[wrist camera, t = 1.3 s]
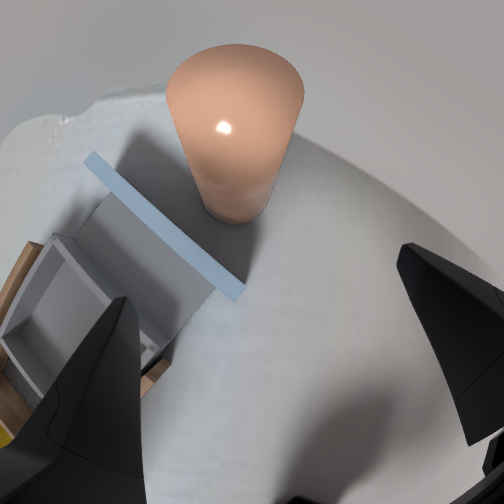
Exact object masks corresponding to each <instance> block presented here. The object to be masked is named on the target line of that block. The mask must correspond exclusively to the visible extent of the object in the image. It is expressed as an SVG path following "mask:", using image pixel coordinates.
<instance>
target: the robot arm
mask: <svg viewBox="0 0 504 504" xmlns="http://www.w3.org/2000/svg"><path fill="white" fill-rule="evenodd" d="M397 270H398V272H399V275H400V277H401V279H402V282H403V284H404V286H405V289H406V291H407V294H408V296H409V299H410V301H411V303H412V306H413V308H414V310H415V312H416V314H417V316H418V318H419V320H420V322H421V324H422V326H423V328H424V330H425V332H426V334H427V337H428V339H429V341H430V343H431V345H432V348H433V350H434V352H435V354H436V357H437V359H438V361H439V364H440V366H441V369H442V371H443V374H444V376H445V379H446V381H447V384H448V386H449V389H450V392H451V394H452V397H453V400H454V403H455V406H456V409H457V412H458V415H459V418H460V421H461V424H462V427H463V431H464V434H465V437H466V441H467V444H468V446H471V445H473V444H475V443H477V442H479V441H481V440H482V439H484V438H486V437H488V436H489V435H491V434H493V433H494V432H496V431H498V430H499V429H501V428H503V430H502V431H501V432H500V433H498V434H497V435H496V436H495V437H494V438H493V439H491V440H490V442H489V446H488V450H487V454H486V457H485V460H484V464H483V467H482V469H483V472H484V474H485V478H484V479H482V480H481V481H480V482H479V483H477V484H476V485H475V486H473V487H472V488H471V489H470V490H468V491H467V492H466V493H464V494H463V495H461V496H460V497H459V498H457V499H456V500H454V501H453V502H451V503H450V504H504V292H503V291H501V290H500V289H498V288H496V287H495V286H492V285H491V284H489V283H488V282H486V281H484V280H483V279H481V278H479V277H477V276H475V275H474V274H472V273H470V272H468V271H467V270H465V269H463V268H461V267H459V266H457V265H455V264H454V263H452V262H450V261H448V260H446V259H444V258H442V257H440V256H438V255H436V254H434V253H433V252H431V251H429V250H427V249H425V248H423V247H421V246H419V245H417V244H414V243H407V244H403V245H402V246H401V249H400V253H399V256H398V260H397ZM297 500H299V501H297ZM0 504H147V502H146V493H145V484H144V475H143V462H142V445H141V348H140V328H139V316H138V313H137V311H136V309H135V307H134V305H133V303H132V302H131V300H130V298H129V297H128V296H119V297H116V298H114V300H113V301H112V302H111V303H110V305H109V306H108V307H107V308H106V310H105V311H104V312H103V314H102V315H101V316H100V317H99V319H98V320H97V321H96V323H95V324H94V325H93V327H92V328H91V329H90V331H89V332H88V333H87V335H86V336H85V337H84V339H83V340H82V342H81V343H80V344H79V346H78V347H77V349H76V350H75V351H74V353H73V354H72V356H71V357H70V358H69V360H68V361H67V363H66V364H65V366H64V367H63V369H62V370H61V372H60V373H59V374H58V376H57V377H56V380H54V382H53V383H52V385H51V386H50V388H49V390H48V391H47V392H46V394H45V395H44V397H43V398H42V400H41V401H40V403H39V404H38V406H37V407H36V408H35V410H34V411H33V413H32V414H31V415H30V417H29V418H28V419H27V421H26V422H25V423H24V425H23V426H22V428H21V429H20V430H19V432H18V433H17V435H16V436H15V437H14V439H13V440H12V441H11V442H10V443H9V444H7V445H6V446H4V447H2V448H0ZM287 504H318V503H316V502H313V501H310V500H308V499H305V498H303V497H300V496H298V497H295V498H293V499H292V500H291V501H289V502H288V503H287Z"/></svg>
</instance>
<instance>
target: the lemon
mask: <svg viewBox="0 0 504 504" xmlns="http://www.w3.org/2000/svg"><path fill="white" fill-rule="evenodd" d="M11 441H12V438H11V437H10V436H9V435H8V433H7V432H6V431H5V430H4V428H3V427H2V426H1V425H0V448H2V447H4V446H6V445H7V444H9V443H10V442H11Z"/></svg>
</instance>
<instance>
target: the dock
mask: <svg viewBox="0 0 504 504" xmlns="http://www.w3.org/2000/svg"><path fill="white" fill-rule="evenodd" d="M44 246H45V245H41V244H38V243H34V242H31V241H28V243H27V244H26V246H25V248H24V249H23V251H22V253H21V254H20V256H19V258H18V260H17V262H16V263H15V265H14V267H13V269H12V271H11V273H10V275H9V276H8V278H7V280H6V282H5V284H4V286H3V288H2V291H1V293H0V327H1V325H2V323H3V321H4V319H5V316H6V314H7V312H8V310H9V308H10V306H11V304H12V302H13V300H14V298H15V296H16V294H17V292H18V290H19V288H20V287H21V285H22V283H23V281H24V279H25V277H26V276H27V274H28V272H29V271H30V269H31V267H32V265H33V264H34V262H35V260H36V259H37V257H38V256H39V254H40V252H41V251H42V249H43V248H44ZM8 358H9V355H8V354H7V352H6V351H5V349H4V348H3V346H2V345H1V343H0V425H1V426H2V427H3V428H4V430H5V431H6V432H7V433H8V435H9V436H10V437H11V438H12V440H13V439H14V437H15V436H16V435H17V433H18V432H19V430H20V429H21V428H22V426H23V425H24V423H25V422H26V421H27V419H28V418H29V417H30V415H31V414H32V413H33V411H32V410H31V409H30V408H29V407H28V405H27V404H26V403H25V402H24V400H23V399H22V398H21V397H20V395H19V394H18V393H17V391H16V390H15V389H14V387H13V386H12V385H11V383H10V382H9V380H8V379H7V378H6V376H5V375H4V373H3V370H4V368H5V365H6V363H7V360H8ZM170 365H171V363H169V362H168V361H167V360H166V359H165V358H163V359H161V360H160V361H159V362H158V363H157V364H156V365H155V366H154V367H153V368H152V369H150V370H149V371H148V372H147V373H146V374H145V375H144V376H143V377H142V378H141V398H142V397H143V396H144V395H145V394H146V393H147V391H148V390H149V389H150V388H151V387H152V386H153V385H154V383H155V382H156V381H157V380H158V379H159V378H160V377H161V375H162V374H163V373H164V372H165V371H166V370H167V369H168V367H169V366H170Z"/></svg>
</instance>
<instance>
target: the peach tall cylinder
mask: <svg viewBox="0 0 504 504" xmlns="http://www.w3.org/2000/svg"><path fill="white" fill-rule="evenodd" d="M166 100H167V105H168V108H169V111H170V113H171V116H172V119H173V122H174V125H175V128H176V130H177V133H178V136H179V139H180V142H181V144H182V147H183V150H184V153H185V155H186V158H187V161H188V163H189V166H190V169H191V172H192V174H193V177H194V180H195V182H196V185H197V188H198V190H199V193H200V196H201V198H202V201H203V203H204V206H205V208H206V209H207V211H208V212H209V213H210V214H211V215H212V216H213V217H214V218H215V219H217V220H219V221H220V222H223V223H226V224H232V225H239V224H244V223H248V222H250V221H252V220H254V219H255V218H257V217H258V216H259V215H260V214H261V213H262V212H263V211H264V209H265V208H266V206H267V203H268V200H269V198H270V195H271V192H272V189H273V186H274V183H275V181H276V178H277V175H278V172H279V169H280V166H281V164H282V161H283V158H284V155H285V152H286V149H287V147H288V144H289V141H290V138H291V135H292V132H293V129H294V127H295V124H296V121H297V118H298V115H299V112H300V109H301V107H302V104H303V100H304V86H303V82H302V80H301V77H300V76H299V74H298V72H297V71H296V69H295V68H294V67H293V66H292V65H291V64H290V63H289V62H288V61H287V60H285V59H284V58H283V57H281V56H279V55H278V54H276V53H273V52H272V51H269V50H266V49H264V48H260V47H256V46H251V45H242V44H230V45H222V46H217V47H213V48H209V49H206V50H204V51H201V52H199V53H197V54H195V55H193V56H191V57H190V58H188V59H187V60H186V61H184V62H183V63H182V64H181V65H180V66H179V67H178V68H177V69H176V70H175V72H174V73H173V74H172V76H171V78H170V80H169V83H168V85H167V90H166Z"/></svg>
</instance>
